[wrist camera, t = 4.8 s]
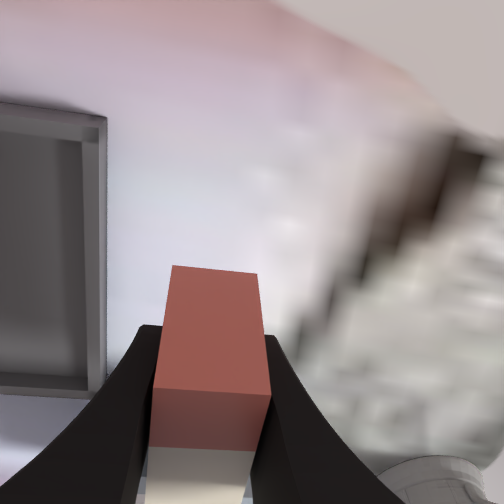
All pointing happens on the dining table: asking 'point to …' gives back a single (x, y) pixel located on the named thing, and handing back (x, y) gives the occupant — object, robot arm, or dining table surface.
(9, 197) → the tray
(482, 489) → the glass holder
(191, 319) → the pink-topped cream pillar
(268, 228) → the dining table surface
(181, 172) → the dining table surface
